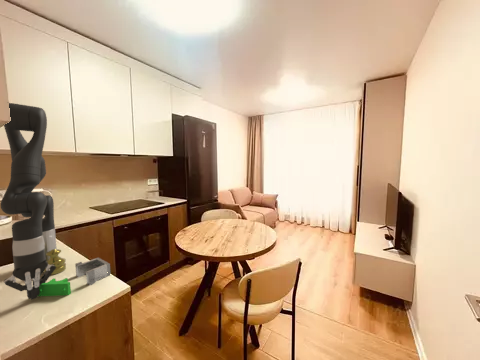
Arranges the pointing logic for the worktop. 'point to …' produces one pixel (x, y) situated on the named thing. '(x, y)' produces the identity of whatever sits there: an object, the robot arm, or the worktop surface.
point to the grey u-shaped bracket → (93, 270)
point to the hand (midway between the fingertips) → (33, 297)
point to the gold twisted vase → (56, 261)
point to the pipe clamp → (55, 288)
